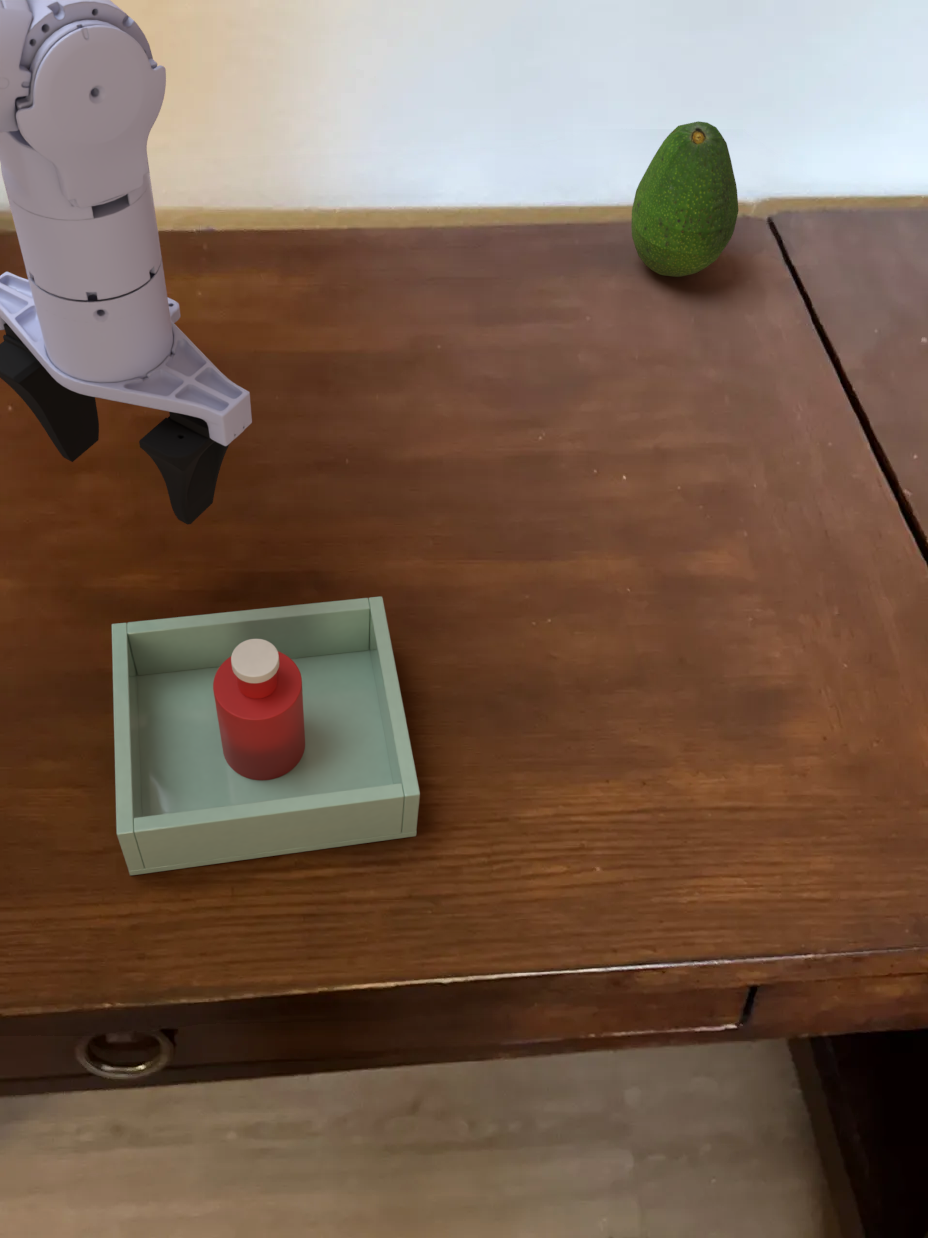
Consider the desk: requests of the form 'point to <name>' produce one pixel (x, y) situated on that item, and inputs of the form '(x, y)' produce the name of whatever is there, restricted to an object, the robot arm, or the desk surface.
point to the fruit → (685, 202)
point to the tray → (192, 748)
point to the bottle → (260, 711)
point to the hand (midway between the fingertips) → (137, 479)
